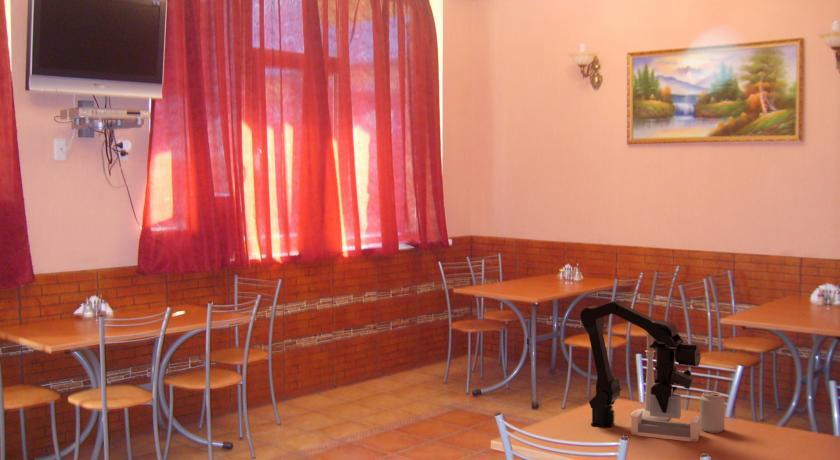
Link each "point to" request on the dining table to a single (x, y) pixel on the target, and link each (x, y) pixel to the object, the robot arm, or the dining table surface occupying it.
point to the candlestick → (649, 383)
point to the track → (665, 428)
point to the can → (712, 412)
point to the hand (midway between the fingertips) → (665, 411)
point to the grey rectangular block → (672, 407)
